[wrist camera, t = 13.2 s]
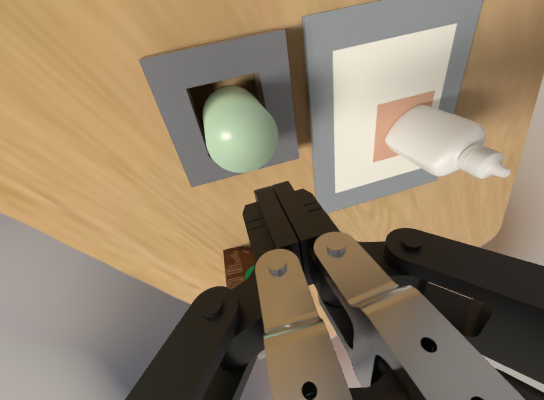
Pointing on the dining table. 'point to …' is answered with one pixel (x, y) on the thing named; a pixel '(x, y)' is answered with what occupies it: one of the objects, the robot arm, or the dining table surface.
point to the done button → (238, 130)
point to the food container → (239, 269)
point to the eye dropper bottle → (444, 143)
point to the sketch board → (379, 88)
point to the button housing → (212, 68)
